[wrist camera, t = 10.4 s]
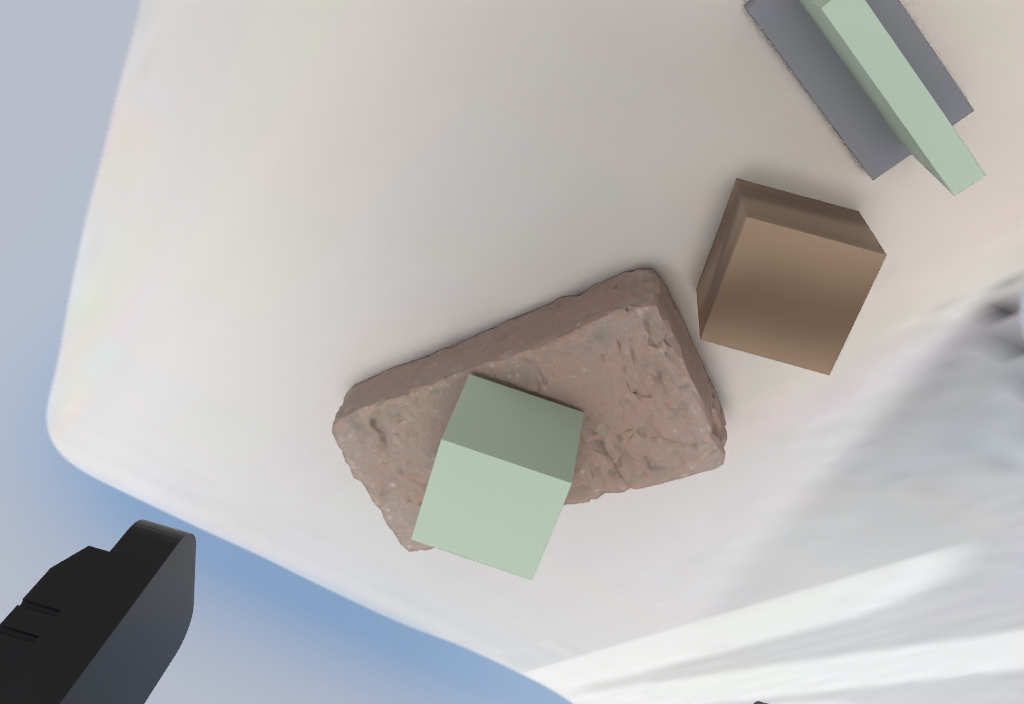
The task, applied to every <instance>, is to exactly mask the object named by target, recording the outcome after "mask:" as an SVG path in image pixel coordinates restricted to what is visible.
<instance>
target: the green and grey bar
mask: <svg viewBox="0 0 1024 704" xmlns="http://www.w3.org/2000/svg"><path fill="white" fill-rule="evenodd" d="M744 7H745V8H746V9H747V11H748V12H749V13H750V15H751V16H752V18H753V19H754V20H755V22H756V23H757V24H758V26H759V27H760V28H761V30H762V31H763V32H764V34H765V35H766V37H767V38H768V39H769V41H770V42H771V43H772V45H773V46H774V47H775V49H776V50H777V51H778V53H779V54H780V56H781V57H782V58H783V60H784V61H785V62H786V64H787V65H788V66H789V68H790V69H791V70H792V72H793V73H794V75H795V76H796V77H797V79H798V80H799V81H800V83H801V84H802V85H803V87H804V88H805V89H806V91H807V92H808V94H809V95H810V96H811V98H812V99H813V100H814V102H815V103H816V104H817V106H818V107H819V108H820V110H821V111H822V113H823V114H824V115H825V117H826V118H827V119H828V121H829V122H830V123H831V125H832V126H833V127H834V129H835V130H836V132H837V133H838V134H839V136H840V137H841V138H842V140H843V141H844V142H845V144H846V145H847V146H848V148H849V149H850V151H851V152H852V153H853V155H854V156H855V157H856V159H857V160H858V161H859V163H860V164H861V165H862V167H863V168H864V170H865V171H866V172H867V174H868V175H869V176H870V177H871V179H872V180H874V179H876V178H877V177H879V176H880V175H881V174H883V173H884V172H886V171H887V170H889V169H890V168H892V167H893V166H894V165H896V164H897V163H899V162H900V161H902V160H903V159H905V158H906V157H908V156H909V155H910V154H912V155H913V156H914V157H915V158H916V159H917V160H918V161H919V162H920V163H921V164H922V165H923V166H924V167H925V168H926V169H927V170H928V171H930V172H931V173H932V174H933V175H934V176H935V177H936V178H937V179H938V180H939V181H940V182H941V183H942V184H943V185H944V186H945V187H946V188H947V189H948V190H949V191H950V192H951V193H952V194H953V195H954V196H955V195H956V194H958V193H959V192H961V191H962V190H964V189H965V188H967V187H969V186H970V185H972V184H973V183H975V182H976V181H978V180H979V179H981V178H982V177H984V176H985V175H986V174H985V173H984V171H983V170H982V168H981V167H980V165H979V164H978V162H977V161H976V160H975V158H974V157H973V155H972V154H971V152H970V151H969V149H968V148H967V147H966V145H965V144H964V142H963V141H962V139H961V138H960V136H959V135H958V134H957V132H956V131H955V129H954V128H953V125H954V124H955V123H957V122H958V121H960V120H961V119H963V118H964V117H966V116H967V115H968V114H970V113H971V112H973V111H974V110H973V108H972V107H971V105H970V104H969V102H968V101H967V99H966V98H965V96H964V95H963V93H962V92H961V90H960V89H959V87H958V86H957V85H956V83H955V82H954V80H953V79H952V77H951V76H950V74H949V73H948V71H947V70H946V68H945V67H944V65H943V64H942V62H941V61H940V60H939V58H938V57H937V55H936V54H935V52H934V51H933V49H932V48H931V46H930V45H929V43H928V42H927V40H926V39H925V38H924V36H923V35H922V33H921V32H920V30H919V29H918V27H917V26H916V24H915V23H914V21H913V20H912V18H911V17H910V15H909V14H908V13H907V11H906V10H905V8H904V7H903V5H902V4H901V2H900V1H899V0H751V1H749V2H748V3H747V4H746V5H745V6H744Z"/></svg>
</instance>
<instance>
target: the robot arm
mask: <svg viewBox="0 0 1024 704" xmlns="http://www.w3.org/2000/svg"><path fill="white" fill-rule="evenodd" d="M195 555H196V540H195V536H194V535H193V534H191V533H187V532H184V531H181V530H177V529H173V528H170V527H166V526H163V525H160V524H157V523H153V522H150V521H146V520H139V521H137V522H135V523H134V524H133V525H132V526H131V527H130V528H129V529H128V530H127V532H126V533H125V534H124V535H123V536H122V538H121V539H120V540H119V541H118V543H117V544H116V545H115V546H114V547H113V548H112V550H111V551H110V552H108V551H105V550H101V549H98V548H94V547H91V546H88V547H86V548H84V549H82V550H81V551H79V552H77V553H76V554H74V555H72V556H70V557H69V558H67V559H66V560H64V561H62V562H60V563H59V564H57V565H55V566H53V567H52V568H50V569H49V571H48V572H47V573H46V574H45V575H44V576H43V577H42V578H41V579H40V580H39V582H38V583H37V584H36V585H35V586H34V587H33V588H32V589H31V590H30V592H29V593H28V594H27V595H26V596H25V597H24V598H23V601H22V603H21V605H20V606H18V605H17V606H16V607H15V608H14V610H13V611H12V612H11V613H10V614H9V615H8V616H7V617H6V618H5V619H4V621H3V622H2V623H1V624H0V704H144V703H145V702H146V700H147V698H148V697H149V695H150V694H151V692H152V691H153V689H154V687H155V686H156V684H157V683H158V681H159V680H160V678H161V677H162V675H163V673H164V672H165V670H166V669H167V667H168V666H169V664H170V662H171V661H172V659H173V658H174V656H175V655H176V653H177V651H178V649H179V648H180V646H181V644H182V642H183V640H184V638H185V635H186V633H187V630H188V627H189V624H190V621H191V618H192V613H193V606H194V582H195V581H194V580H195ZM754 704H767V703H763V702H760V701H757V702H755V703H754Z"/></svg>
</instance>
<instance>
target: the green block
mask: <svg viewBox="0 0 1024 704" xmlns="http://www.w3.org/2000/svg"><path fill="white" fill-rule="evenodd" d="M583 414H584V412H581V411H578V410H575V409H572V408H569V407H566V406H563V405H560V404H557V403H554V402H551V401H548V400H545V399H542V398H539V397H536V396H533V395H530V394H527V393H524V392H521V391H519V390H516V389H513V388H510V387H507V386H504V385H501V384H498V383H495V382H492V381H489V380H486V379H483V378H480V377H477V376H474V375H471V374H469V376H468V378H467V381H466V383H465V385H464V388H463V390H462V392H461V395H460V397H459V399H458V402H457V404H456V406H455V409H454V411H453V413H452V416H451V418H450V420H449V423H448V425H447V427H446V429H445V432H444V434H443V436H442V439H441V442H440V445H439V449H438V452H437V455H436V458H435V462H434V465H433V468H432V472H431V475H430V478H429V482H428V485H427V488H426V492H425V495H424V498H423V502H422V505H421V508H420V512H419V515H418V518H417V522H416V525H415V528H414V532H413V535H412V538H411V540H414V541H417V542H420V543H423V544H426V545H429V546H432V547H435V548H438V549H440V550H443V551H446V552H449V553H452V554H455V555H458V556H461V557H464V558H467V559H470V560H473V561H476V562H479V563H482V564H485V565H488V566H491V567H494V568H497V569H499V570H502V571H505V572H508V573H511V574H514V575H517V576H520V577H523V578H526V579H529V580H533V578H534V575H535V573H536V570H537V568H538V565H539V563H540V560H541V558H542V556H543V553H544V551H545V548H546V546H547V543H548V541H549V538H550V536H551V533H552V531H553V529H554V526H555V524H556V521H557V519H558V516H559V514H560V511H561V509H562V506H563V504H564V502H565V499H566V497H567V494H568V492H569V489H570V487H571V484H572V480H573V474H574V468H575V462H576V456H577V450H578V444H579V438H580V432H581V426H582V420H583Z"/></svg>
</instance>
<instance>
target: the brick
mask: <svg viewBox="0 0 1024 704" xmlns="http://www.w3.org/2000/svg"><path fill="white" fill-rule="evenodd" d="M469 374H471V375H474V376H477V377H480V378H483V379H486V380H489V381H492V382H495V383H498V384H501V385H504V386H507V387H510V388H513V389H516V390H519V391H521V392H524V393H527V394H530V395H533V396H536V397H539V398H542V399H545V400H548V401H551V402H554V403H557V404H560V405H563V406H566V407H569V408H572V409H575V410H578V411H581V412H584V414H583V420H582V426H581V432H580V438H579V444H578V450H577V456H576V462H575V468H574V474H573V480H572V484H571V487H570V489H569V492H568V494H567V497H566V499H565V502H564V504H563V505H566V504H577V503H584V502H589V501H590V499H597V498H599V497H600V496H601V495H603V494H604V493H620V492H625V491H626V490H628V489H629V488H633V489H639V488H645V487H649V486H653V485H658V484H662V483H665V482H669V481H673V480H676V479H680V478H684V477H687V476H691V475H694V474H697V473H700V472H705V471H709V470H713V469H715V468H717V467H719V466H721V465H722V464H723V463H724V459H725V451H724V448H723V447H724V445H725V443H726V440H727V431H726V429H725V425H726V422H725V417H724V413H723V409H722V406H721V404H720V402H719V400H718V397H717V395H716V392H715V389H714V387H713V385H712V383H711V381H710V379H709V377H708V375H707V373H706V372H705V370H704V368H703V365H702V362H701V360H700V358H699V356H698V354H697V351H696V350H695V348H694V347H693V345H692V342H691V339H690V336H689V334H688V331H687V328H686V326H685V323H684V321H683V319H682V317H681V315H680V313H679V312H678V311H677V309H676V308H675V306H674V304H673V303H672V301H671V298H670V294H669V292H668V290H667V288H666V286H665V285H664V284H663V283H662V281H661V280H660V278H659V277H658V276H657V274H656V273H655V272H654V271H653V270H652V269H649V270H644V269H637V270H635V271H633V272H624V273H622V274H620V275H618V276H615V277H613V278H611V279H608V280H605V281H603V282H600V283H597V284H594V285H593V286H592V287H590V288H589V289H588V290H587V291H585V292H584V293H583V294H581V295H580V296H565V297H560V298H558V299H556V300H554V301H553V302H551V303H550V304H548V305H546V306H543V307H541V308H538V309H536V310H534V311H532V312H529V313H527V314H525V315H523V316H521V317H519V318H515V319H511V320H509V321H506V322H504V323H502V324H501V325H499V326H498V327H496V328H494V329H489V330H486V331H484V332H482V333H480V334H478V335H476V336H474V337H472V338H470V339H468V340H466V341H462V342H460V343H458V344H456V345H453V346H451V347H446V348H444V349H442V350H440V351H438V352H437V353H435V354H433V355H431V356H429V357H427V358H423V359H418V360H414V361H411V362H409V363H407V364H404V365H400V366H397V367H394V368H391V369H389V370H386V371H384V372H382V373H381V374H379V375H377V376H375V377H373V378H370V379H367V380H365V381H363V382H361V383H360V384H358V385H355V386H353V387H352V388H351V389H350V390H349V391H348V392H347V393H346V395H345V397H344V403H343V405H342V406H341V407H340V409H339V411H338V412H337V414H336V417H335V421H334V422H333V427H332V433H333V435H334V438H335V440H336V442H337V444H338V446H339V447H340V449H341V450H342V451H343V455H344V459H345V462H346V463H347V464H348V465H349V466H350V469H351V472H352V474H353V477H354V478H355V479H357V480H359V481H361V482H362V483H363V484H364V486H365V487H366V489H367V491H368V493H369V495H370V497H371V499H372V501H373V502H374V504H375V505H376V506H377V507H379V508H380V510H381V511H382V514H383V517H384V519H385V521H386V523H387V525H388V526H389V528H390V529H391V530H392V531H393V532H394V534H395V535H396V537H397V538H398V540H399V542H400V544H401V545H402V546H403V547H405V548H406V549H407V550H408V551H409V552H410V551H418V550H429V549H432V548H435V547H432V546H429V545H426V544H423V543H420V542H417V541H414V540H411V538H412V535H413V532H414V528H415V525H416V522H417V518H418V515H419V512H420V508H421V505H422V502H423V498H424V495H425V492H426V488H427V485H428V482H429V478H430V475H431V472H432V468H433V465H434V462H435V458H436V455H437V452H438V449H439V445H440V442H441V439H442V436H443V434H444V432H445V429H446V427H447V425H448V423H449V420H450V418H451V416H452V413H453V411H454V409H455V406H456V404H457V402H458V399H459V397H460V395H461V392H462V390H463V388H464V385H465V383H466V381H467V378H468V376H469Z"/></svg>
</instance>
